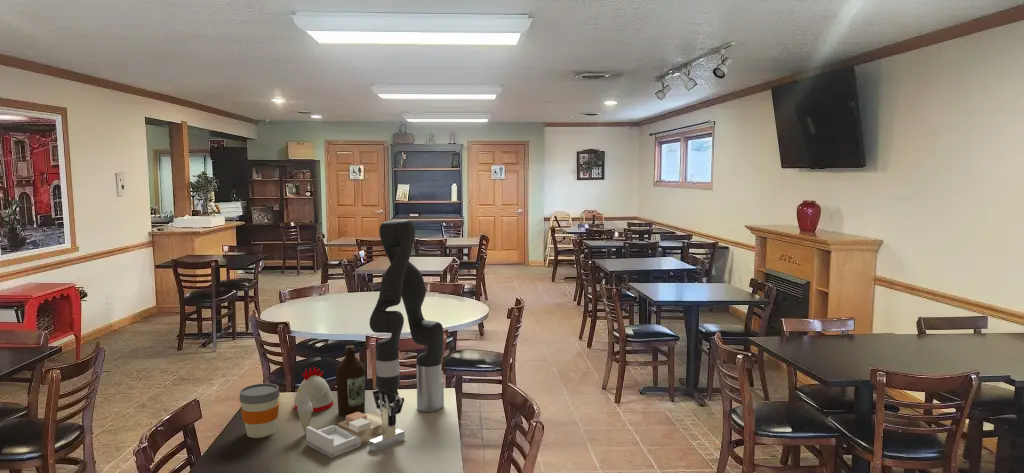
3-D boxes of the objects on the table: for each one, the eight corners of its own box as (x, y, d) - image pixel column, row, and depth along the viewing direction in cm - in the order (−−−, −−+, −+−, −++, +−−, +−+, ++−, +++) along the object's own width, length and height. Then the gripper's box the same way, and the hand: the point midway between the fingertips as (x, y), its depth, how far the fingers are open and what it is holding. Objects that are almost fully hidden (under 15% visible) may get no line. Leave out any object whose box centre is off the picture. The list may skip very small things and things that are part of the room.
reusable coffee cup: (266, 441, 200) (265, 397, 198) (232, 438, 202) (230, 394, 201) (288, 426, 212) (286, 384, 210) (255, 423, 214) (254, 381, 213)
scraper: (369, 449, 194) (368, 410, 193) (398, 437, 203) (398, 399, 202) (376, 453, 192) (376, 413, 190) (406, 440, 201) (406, 402, 199)
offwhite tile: (361, 423, 205) (361, 417, 204) (370, 427, 201) (370, 421, 201) (349, 428, 201) (348, 422, 201) (358, 432, 198) (357, 426, 197)
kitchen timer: (289, 404, 232) (287, 366, 230) (324, 396, 241) (323, 359, 239) (303, 415, 221) (301, 375, 220) (338, 406, 230) (337, 368, 229)
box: (336, 433, 206) (335, 416, 205) (360, 445, 197) (360, 428, 196) (306, 444, 197) (306, 426, 197) (331, 457, 188) (330, 439, 188)
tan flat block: (372, 421, 216) (372, 411, 215) (393, 431, 208) (393, 419, 208) (338, 434, 205) (338, 423, 205) (359, 444, 197) (359, 432, 197)
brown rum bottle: (331, 412, 224) (329, 346, 222) (357, 405, 231) (355, 340, 229) (345, 421, 217) (344, 352, 214) (371, 413, 224) (370, 346, 221)
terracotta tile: (358, 417, 210) (358, 411, 210) (366, 420, 207) (366, 415, 207) (345, 421, 206) (345, 415, 206) (354, 425, 203) (354, 419, 203)
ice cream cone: (297, 438, 202) (295, 394, 201) (298, 431, 207) (297, 389, 206) (313, 436, 204) (311, 393, 202) (314, 430, 208) (312, 387, 207)
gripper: (411, 374, 193) (411, 426, 195) (383, 364, 202) (384, 415, 204) (392, 380, 187) (393, 434, 189) (364, 370, 196) (365, 422, 198)
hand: (388, 423), depth 196 cm, fingers closed on scraper, 3 cm apart
